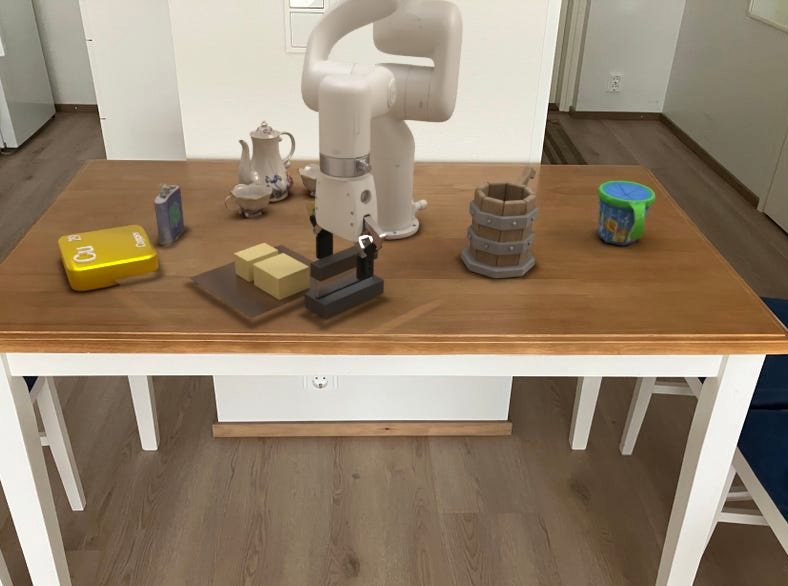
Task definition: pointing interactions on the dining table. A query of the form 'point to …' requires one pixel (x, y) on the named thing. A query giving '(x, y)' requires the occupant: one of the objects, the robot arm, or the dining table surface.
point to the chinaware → (266, 172)
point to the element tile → (106, 256)
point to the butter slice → (252, 259)
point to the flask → (169, 214)
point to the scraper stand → (344, 297)
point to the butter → (281, 276)
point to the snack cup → (623, 211)
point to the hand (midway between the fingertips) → (344, 266)
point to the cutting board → (248, 287)
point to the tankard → (502, 228)
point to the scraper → (336, 271)
